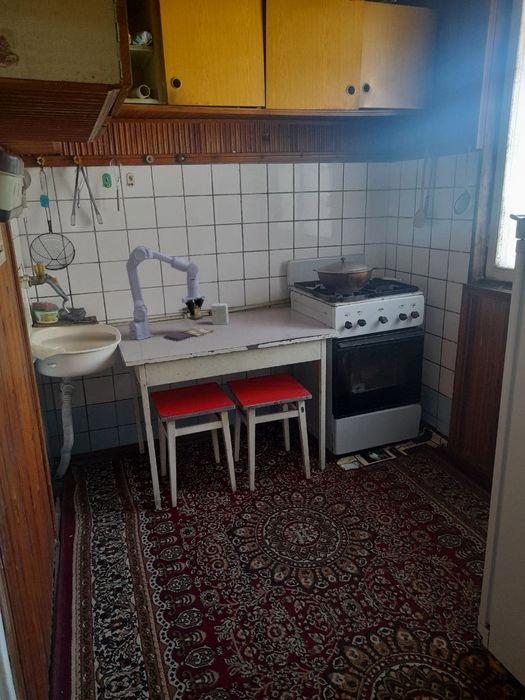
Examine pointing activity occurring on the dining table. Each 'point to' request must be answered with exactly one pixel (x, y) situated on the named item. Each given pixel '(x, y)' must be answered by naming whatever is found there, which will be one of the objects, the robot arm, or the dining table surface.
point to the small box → (220, 313)
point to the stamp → (196, 314)
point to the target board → (196, 331)
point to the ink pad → (178, 336)
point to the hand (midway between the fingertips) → (195, 314)
